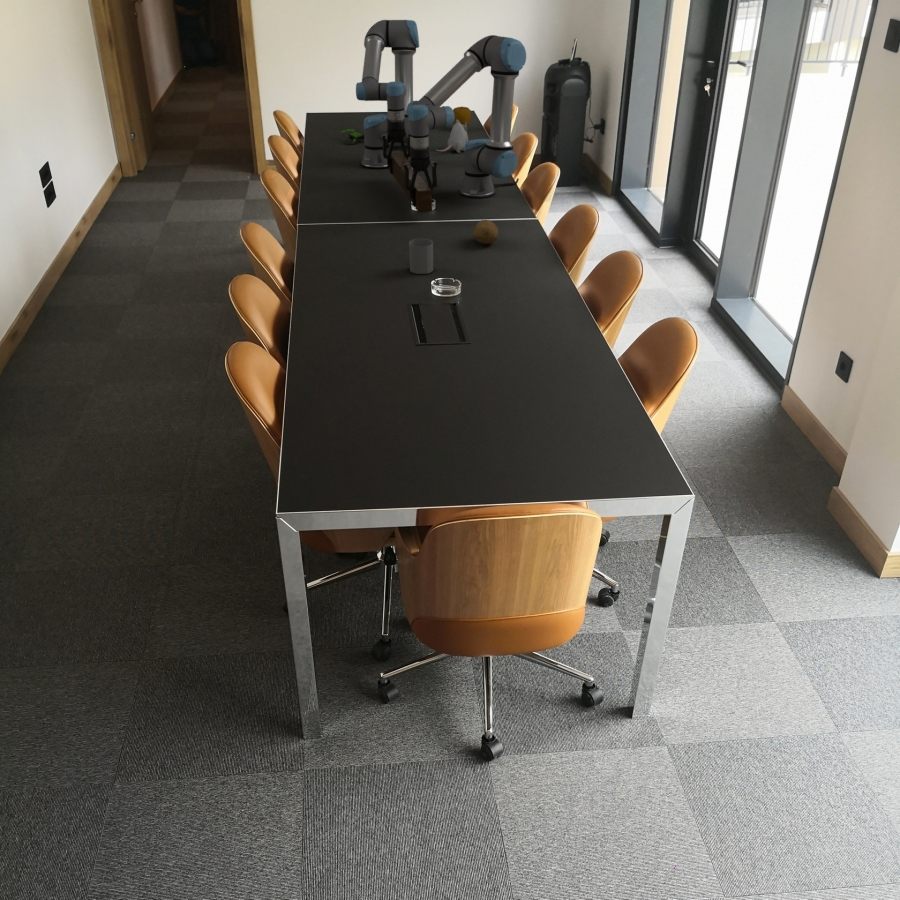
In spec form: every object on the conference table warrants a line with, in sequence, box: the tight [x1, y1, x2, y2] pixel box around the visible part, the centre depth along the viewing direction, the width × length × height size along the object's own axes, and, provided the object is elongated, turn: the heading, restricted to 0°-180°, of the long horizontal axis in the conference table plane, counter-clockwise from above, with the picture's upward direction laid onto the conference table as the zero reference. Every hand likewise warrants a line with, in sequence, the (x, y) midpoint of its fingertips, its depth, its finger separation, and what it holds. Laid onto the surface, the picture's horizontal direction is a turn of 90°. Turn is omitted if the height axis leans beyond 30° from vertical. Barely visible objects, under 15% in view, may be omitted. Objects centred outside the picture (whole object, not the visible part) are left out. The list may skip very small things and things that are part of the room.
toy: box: [436, 120, 469, 154], centre depth 444 cm, size 9×24×15 cm, turn 137°
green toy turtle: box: [338, 128, 364, 145], centre depth 467 cm, size 6×13×30 cm
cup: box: [408, 237, 434, 275], centre depth 305 cm, size 8×8×10 cm
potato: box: [472, 219, 499, 245], centre depth 330 cm, size 10×14×8 cm
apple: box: [452, 105, 472, 129], centre depth 487 cm, size 11×11×13 cm
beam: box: [388, 149, 433, 213], centre depth 374 cm, size 65×6×9 cm, turn 14°
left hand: (398, 172), depth 396 cm, fingers closed on beam, 5 cm apart
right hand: (421, 205), depth 355 cm, fingers closed on beam, 6 cm apart
